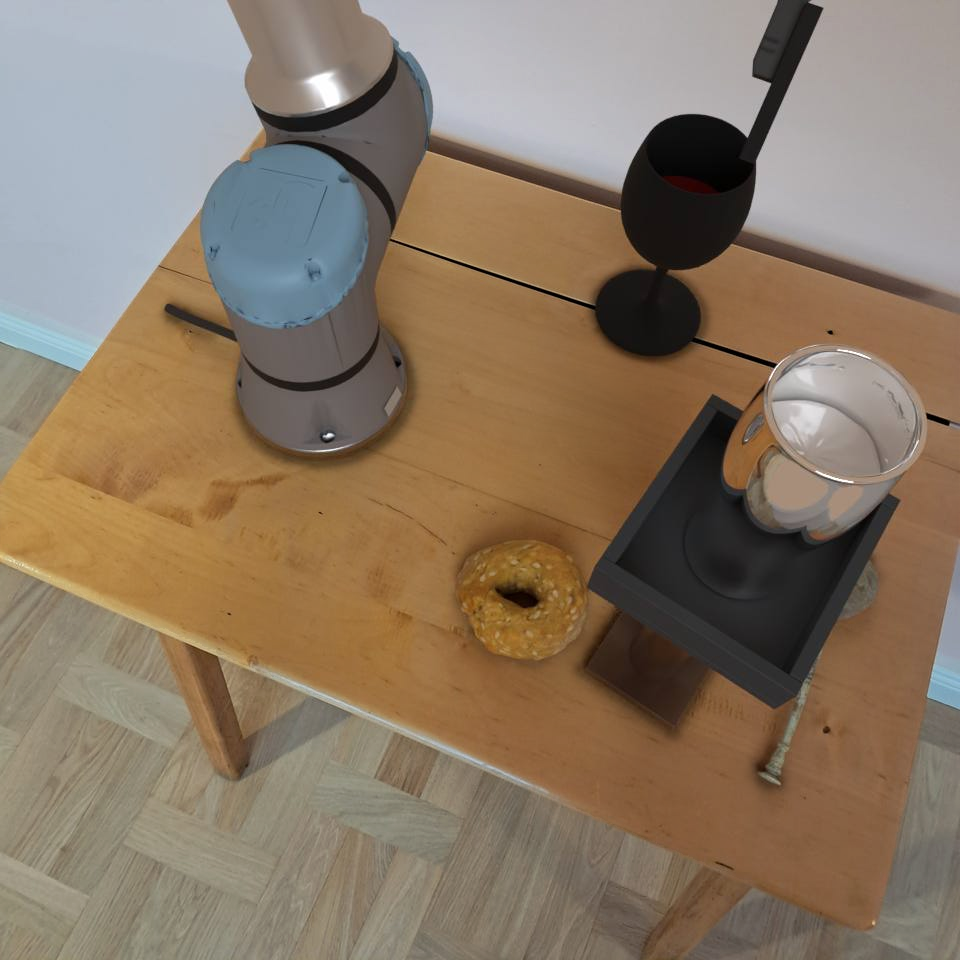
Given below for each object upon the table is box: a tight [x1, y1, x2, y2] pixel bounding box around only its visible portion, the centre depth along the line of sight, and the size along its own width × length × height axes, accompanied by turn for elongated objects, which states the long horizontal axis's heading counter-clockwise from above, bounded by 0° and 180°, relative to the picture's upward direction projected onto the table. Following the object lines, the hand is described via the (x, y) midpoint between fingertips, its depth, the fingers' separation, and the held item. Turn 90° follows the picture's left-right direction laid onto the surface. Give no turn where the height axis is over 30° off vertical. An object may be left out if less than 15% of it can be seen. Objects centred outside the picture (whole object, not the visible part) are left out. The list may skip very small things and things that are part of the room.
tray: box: [586, 393, 901, 710], centre depth 48 cm, size 12×13×3 cm
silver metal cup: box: [684, 343, 928, 600], centre depth 42 cm, size 7×7×15 cm
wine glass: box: [594, 113, 757, 358], centre depth 76 cm, size 10×10×20 cm
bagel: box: [454, 539, 590, 661], centre depth 69 cm, size 10×11×5 cm
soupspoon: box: [757, 559, 880, 786], centre depth 69 cm, size 22×3×7 cm
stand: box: [583, 610, 711, 731], centre depth 59 cm, size 8×8×23 cm
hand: (888, 214), depth 39 cm, fingers open, 13 cm apart
